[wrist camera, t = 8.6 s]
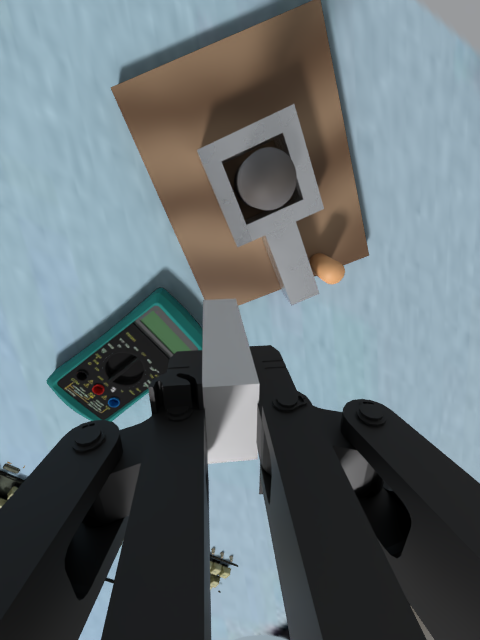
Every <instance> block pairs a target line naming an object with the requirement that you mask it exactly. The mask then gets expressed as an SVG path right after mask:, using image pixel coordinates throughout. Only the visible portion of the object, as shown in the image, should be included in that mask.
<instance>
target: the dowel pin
mask: <svg viewBox="0 0 480 640" xmlns="http://www.w3.org/2000/svg"><path fill="white" fill-rule="evenodd" d="M309 263H310V266H311V269H312V272H313V273H314V274H315V275H317V276H318V277H319V278H321V279H322V280H323V281H325V282H326V283H328V284H336V283H338V282H339V281H341V279H342V278H343V276H344V273H345V269H344V266H343V265H342V264H341V263H340V262H338V261H336V260H334V259H332V258H330V257H328V256H326V255H324V254H322V253H317V254H314V255H313V256H312V257H311V258H310V260H309Z"/></svg>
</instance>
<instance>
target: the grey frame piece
mask: <svg viewBox="0 0 480 640" xmlns="http://www.w3.org/2000/svg"><path fill="white" fill-rule="evenodd" d="M273 140H274V142H275V145H276V148H277V149H280V150H282V151H283V152H285V153H286V154H287V155H288V156H289V157H290V158H291V160H292V161H293V163H294V166H295V169H296V175H297V181H296V187H295V190H294V192H293V194H292V198H293V199H291V200H289V201H287V202H286V203H285V204H284V205H282V206H281V207H279V208H277V209H274V210H267V211H265V212H262V213H260V214H258V215H256V216H254V217H251V218H249V219H247V220H244V217H243V215H242V212H241V210H240V207H239V205H238V202H237V200H236V197H235V195H234V192H233V190H232V187H231V185H230V182H229V180H228V177H227V174H226V172H225V169H224V167H223V164H224V163H226V162H228V161H230V160H232V159H234V158H237V157H239V156H241V155H243V154H245V153H247V152H249V151H251V150H254V149H256V148H258V147H260V146H262V145H264V144H266V143H269V142H271V141H273ZM197 153H198V156H199V158H200V161H201V163H202V166H203V168H204V170H205V173H206V175H207V177H208V180H209V182H210V185H211V187H212V189H213V192H214V194H215V196H216V199H217V201H218V204H219V206H220V208H221V211H222V213H223V215H224V218H225V220H226V223H227V225H228V227H229V230H230V232H231V235H232V237H233V239H234V242H235V243H236V245H237V247H240V246H242V245H244V244H247V243H249V242H251V241H253V240H256V239H258V238H260V237H262V240H263V242H264V245H265V248H266V250H267V253H268V256H269V258H270V261H271V263H272V266H273V269H274V271H275V274H276V277H277V279H278V282H279V284H280V287H281V290H282V292H283V294H284V296H285V297H286V298H287V300H288V301H289V302H290V304H291V305H294V304H296V303H298V302H301V301H303V300H305V299H308V298H310V297H312V296H315V295H317V294H319V291H318V288H317V285H316V282H315V279H314V275H313V272H312V269H311V266H310V263H309V260H308V257H307V254H306V251H305V248H304V245H303V242H302V239H301V236H300V233H299V230H298V227H297V224H296V221H298V220H300V219H303V218H305V217H307V216H309V215H312V214H314V213H316V212H318V211H321V210H323V209H324V206H323V203H322V199H321V196H320V192H319V189H318V185H317V182H316V178H315V175H314V171H313V168H312V164H311V161H310V157H309V154H308V150H307V147H306V143H305V140H304V136H303V133H302V129H301V126H300V122H299V119H298V115H297V112H296V108H295V105H294V104H293V105H291V106H289V107H286V108H284V109H282V110H280V111H278V112H276V113H274V114H272V115H270V116H268V117H265V118H263V119H261V120H259V121H257V122H255V123H253V124H251V125H249V126H246V127H244V128H242V129H240V130H238V131H236V132H234V133H232V134H230V135H228V136H225V137H223V138H221V139H219V140H217V141H215V142H213V143H211V144H209V145H206V146H204V147H202V148H200V149H198V150H197Z"/></svg>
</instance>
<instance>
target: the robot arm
mask: <svg viewBox="0 0 480 640" xmlns="http://www.w3.org/2000/svg"><path fill="white" fill-rule="evenodd" d="M148 390H149V397H150V403H151V410H152V416H151V417H150V418H149V419H147V420H146V421H144V422H142V423H140V424H137V425H135V426H131V427H128V428H125V429H122V430H119V428H118V426H117V425H116V424H114V423H113V422H111V421H107V420H94V421H90V422H87V423H83V424H81V425H79V426H77V427H75V428H74V429H72V430H71V431H69V432H68V433H67V434H66V435H65V436H64V437H63V438H62V439H61V440H60V441H59V442H58V443H57V445H56V446H55V447H54V448H53V449H52V450H51V451H50V452H49V454H48V455H47V456H46V457H45V458H44V459H43V460H42V462H41V463H40V464H39V465H38V466H37V467H36V468H35V470H34V471H33V472H32V473H31V474H30V475H29V476H28V478H27V479H26V480H25V481H24V482H23V483H22V484H21V486H20V487H19V488H18V489H17V490H16V491H15V492H14V494H13V495H12V496H11V497H10V498H9V499H8V500H7V502H6V503H5V504H4V505H3V506H2V507H1V508H0V640H78V639H79V637H80V634H81V632H82V630H83V628H84V626H85V623H86V621H87V619H88V617H89V614H90V612H91V610H92V608H93V606H94V603H95V601H96V599H97V597H98V595H99V592H100V590H101V588H102V586H103V584H104V581H105V579H106V577H107V575H108V572H109V570H110V568H111V566H112V564H113V561H114V559H115V557H116V555H117V553H118V550H119V548H120V546H121V544H122V542H123V545H122V549H121V554H120V558H119V562H118V567H117V571H116V576H115V580H114V585H113V589H112V593H111V598H110V602H109V607H108V611H107V615H106V620H105V624H104V629H103V633H102V638H101V640H211V599H210V538H209V480H208V464H212V463H223V462H234V461H245V460H256V459H257V457H258V453H259V458H260V487H259V494H263V495H264V500H265V506H266V511H267V516H268V522H269V527H270V532H271V538H272V543H273V548H274V553H275V559H276V564H277V569H278V575H279V580H280V585H281V591H282V596H283V601H284V607H285V612H286V617H287V623H288V628H289V633H290V639H291V640H426V638H425V635H424V634H423V631H422V629H421V627H420V625H419V623H418V621H417V619H416V617H415V615H414V613H413V611H412V609H411V607H410V605H411V606H412V608H413V609H414V610H415V612H416V613H417V615H418V616H419V618H420V619H421V621H422V622H423V624H424V625H425V626H426V628H427V629H428V631H429V632H430V634H431V635H432V637H433V638H434V639H435V640H480V483H478V482H477V481H476V480H475V479H474V478H472V477H471V476H470V475H469V474H468V473H466V472H465V471H464V470H463V469H462V468H460V467H459V466H458V465H457V464H456V463H454V462H453V461H452V460H451V459H450V458H448V457H447V456H446V455H445V454H444V453H442V452H441V451H440V450H439V449H438V448H436V447H435V446H434V445H433V444H432V443H430V442H429V441H428V440H427V439H425V438H424V437H423V436H422V435H421V434H419V433H418V432H417V431H416V430H415V429H413V428H412V427H411V426H410V425H409V424H407V423H406V422H405V421H404V420H403V419H401V418H400V417H399V416H398V415H397V414H395V413H394V412H393V411H392V410H390V409H389V408H387V407H386V406H384V405H383V404H380V403H377V402H375V401H372V400H365V399H358V400H352V401H350V402H348V403H346V405H345V406H344V408H343V412H338V411H331V410H325V409H321V408H317V407H315V406H312V403H311V402H310V400H309V399H308V398H307V397H306V396H305V395H304V394H302V393H300V392H299V391H297V390H296V388H295V385H294V383H293V381H292V379H291V376H290V374H289V372H288V370H287V368H286V365H285V363H284V361H283V359H282V357H281V354H280V352H279V351H278V350H276V349H275V348H274V347H272V346H271V345H268V346H249V344H248V340H247V337H246V333H245V329H244V326H243V322H242V319H241V315H240V311H239V308H238V304H237V301H236V299H216V300H203V350H194V351H177V352H176V353H175V354H174V355H173V356H172V357H171V358H170V359H169V363H168V369H167V373H165V374H162V375H160V376H158V377H157V378H155V379H154V380H153V381H152V382H151V383H150V385H149V387H148ZM123 539H124V540H123ZM407 600H408V601H407ZM408 602H409V603H410V605H409V603H408Z"/></svg>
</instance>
